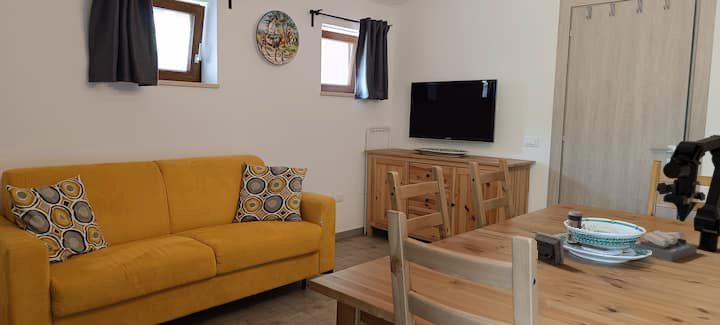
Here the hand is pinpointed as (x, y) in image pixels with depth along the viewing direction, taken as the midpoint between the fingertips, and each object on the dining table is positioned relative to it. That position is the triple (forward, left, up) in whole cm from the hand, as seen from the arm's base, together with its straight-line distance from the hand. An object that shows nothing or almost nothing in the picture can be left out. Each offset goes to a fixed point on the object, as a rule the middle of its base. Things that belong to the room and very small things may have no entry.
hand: (681, 221), depth 169 cm
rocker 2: (0, -5, -8) cm, 9 cm away
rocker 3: (-6, -5, -8) cm, 11 cm away
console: (0, -4, -12) cm, 13 cm away
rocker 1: (+6, -5, -8) cm, 11 cm away
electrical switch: (+49, -19, -13) cm, 54 cm away
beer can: (+20, -28, -13) cm, 37 cm away
